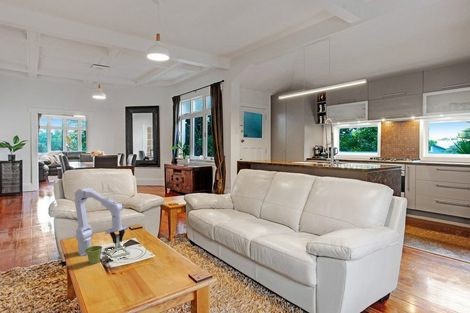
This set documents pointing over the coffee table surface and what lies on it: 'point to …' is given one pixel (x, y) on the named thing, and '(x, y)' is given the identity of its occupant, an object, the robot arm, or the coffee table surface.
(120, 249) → the tray
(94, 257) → the plant pot
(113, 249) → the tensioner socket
